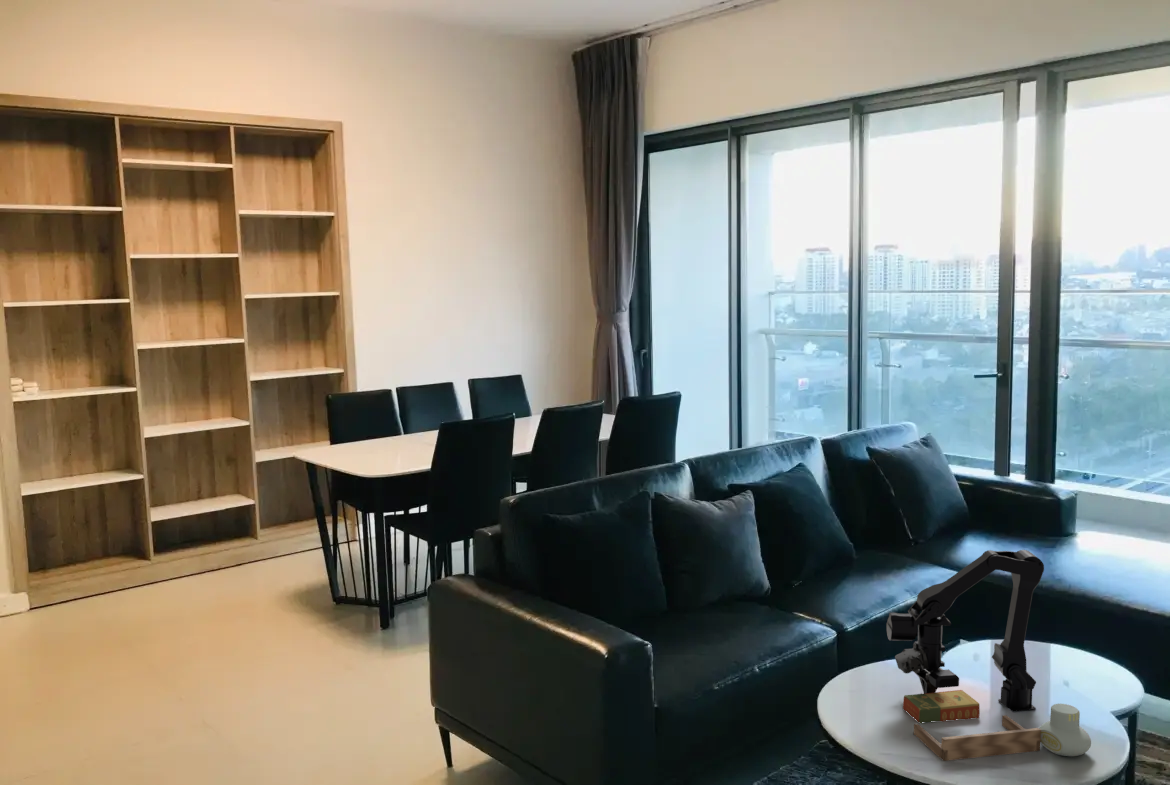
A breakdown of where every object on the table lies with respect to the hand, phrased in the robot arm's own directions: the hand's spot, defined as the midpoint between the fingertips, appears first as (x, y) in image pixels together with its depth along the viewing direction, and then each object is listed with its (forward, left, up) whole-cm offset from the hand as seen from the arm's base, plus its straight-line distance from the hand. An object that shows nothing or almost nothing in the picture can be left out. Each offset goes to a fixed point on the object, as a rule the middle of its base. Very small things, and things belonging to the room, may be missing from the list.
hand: (927, 699), depth 242 cm
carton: (0, +6, -2) cm, 6 cm away
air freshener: (-17, +29, -1) cm, 33 cm away
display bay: (0, +21, -1) cm, 21 cm away
